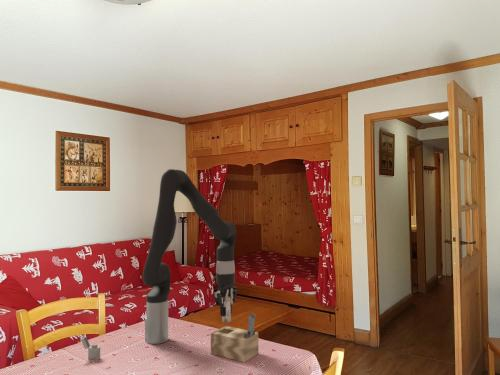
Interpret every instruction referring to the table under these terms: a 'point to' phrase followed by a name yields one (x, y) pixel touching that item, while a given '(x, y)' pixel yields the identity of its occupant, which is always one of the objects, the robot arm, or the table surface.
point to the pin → (227, 312)
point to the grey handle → (251, 324)
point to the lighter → (91, 349)
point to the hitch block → (234, 343)
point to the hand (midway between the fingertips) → (226, 314)
